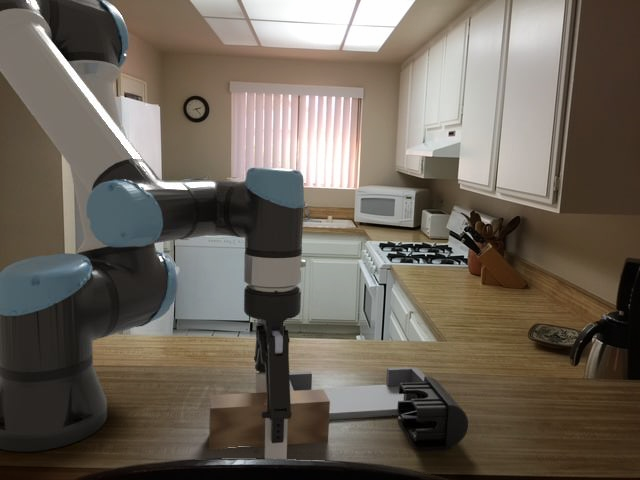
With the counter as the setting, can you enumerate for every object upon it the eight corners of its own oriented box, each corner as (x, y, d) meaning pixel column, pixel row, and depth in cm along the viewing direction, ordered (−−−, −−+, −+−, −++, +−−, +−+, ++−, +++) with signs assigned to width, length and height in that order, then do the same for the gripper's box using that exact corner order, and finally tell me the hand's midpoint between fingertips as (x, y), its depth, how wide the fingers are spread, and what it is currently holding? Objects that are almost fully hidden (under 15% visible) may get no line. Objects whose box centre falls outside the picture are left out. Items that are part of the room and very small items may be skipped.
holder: (285, 422, 78) (286, 396, 78) (277, 396, 87) (278, 372, 86) (437, 412, 83) (439, 388, 83) (415, 388, 92) (416, 366, 92)
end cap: (466, 451, 72) (470, 404, 71) (416, 453, 71) (419, 406, 70) (440, 417, 82) (443, 375, 81) (395, 418, 81) (398, 376, 80)
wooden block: (209, 451, 70) (210, 408, 69) (209, 436, 74) (209, 395, 73) (328, 442, 74) (329, 401, 73) (321, 428, 78) (323, 389, 77)
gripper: (320, 309, 60) (313, 486, 63) (286, 266, 83) (283, 396, 86) (252, 311, 58) (249, 492, 61) (238, 267, 82) (236, 399, 85)
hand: (269, 436), depth 74 cm, fingers open, 12 cm apart
